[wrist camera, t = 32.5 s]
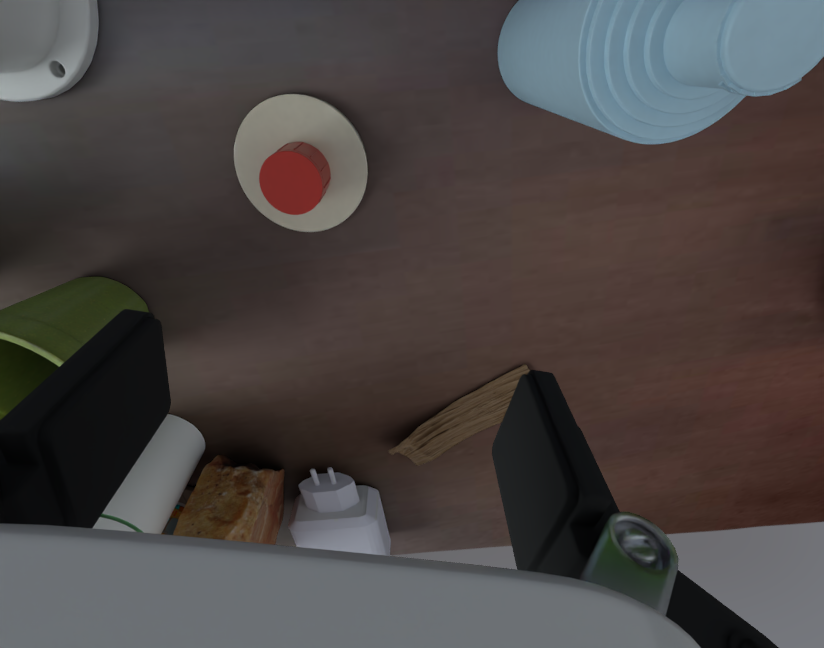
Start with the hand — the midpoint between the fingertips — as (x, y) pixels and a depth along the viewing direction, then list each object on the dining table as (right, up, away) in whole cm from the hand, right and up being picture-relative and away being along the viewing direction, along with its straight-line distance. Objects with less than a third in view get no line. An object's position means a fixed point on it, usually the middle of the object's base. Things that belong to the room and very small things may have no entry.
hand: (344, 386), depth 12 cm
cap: (-6, +12, +18) cm, 23 cm away
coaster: (-6, +13, +19) cm, 23 cm away
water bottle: (+10, +19, +15) cm, 26 cm away
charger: (-6, -17, +37) cm, 42 cm away
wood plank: (+5, -6, +29) cm, 30 cm away
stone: (-15, -15, +36) cm, 42 cm away
